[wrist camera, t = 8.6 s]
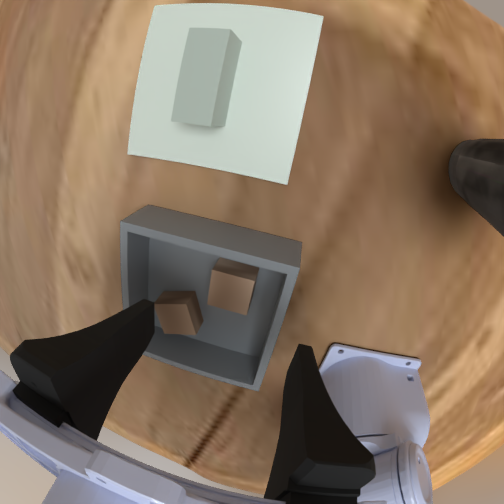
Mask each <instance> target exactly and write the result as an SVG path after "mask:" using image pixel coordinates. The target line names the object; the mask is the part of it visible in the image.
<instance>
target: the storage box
mask: <svg viewBox="0 0 504 504" xmlns="http://www.w3.org/2000/svg"><path fill="white" fill-rule="evenodd" d="M301 248H302V242H299V241H295V240H291V239H287V238H283V237H279V236H276V235H272V234H268V233H264V232H260V231H256V230H252V229H248V228H244V227H240V226H236V225H232V224H228V223H224V222H220V221H215V220H211V219H207V218H203V217H199V216H195V215H191V214H186V213H182V212H178V211H174V210H169V209H165V208H161V207H157V206H152V205H147V206H145V207H143V208H142V209H140V210H138V211H137V212H135V213H133V214H131V215H130V216H128V217H126V218H125V219H123V220H121V221H120V258H121V284H122V301H123V310H124V309H126V308H128V307H130V306H132V305H133V304H135V303H137V302H139V301H141V300H142V299H146V300H149V301H152V302H155V301H156V300H157V299H158V298H159V296H160V295H161V294H162V293H163V291H195V292H196V295H197V299H198V302H199V306H200V309H201V313H202V316H203V320H204V321H203V323H202V325H201V327H200V329H199V331H198V333H197V334H196V335H183V334H164V332H163V329H162V326H161V324H160V321H159V318H158V316H157V313H156V310H155V308H154V311H155V333H154V335H153V337H152V339H151V341H150V343H149V345H148V347H147V349H146V350H145V351H144V353H143V355H145V356H148V357H151V358H153V359H156V360H159V361H161V362H164V363H167V364H170V365H172V366H175V367H178V368H181V369H184V370H187V371H190V372H193V373H196V374H199V375H202V376H205V377H209V378H212V379H215V380H219V381H222V382H225V383H229V384H233V385H236V386H240V387H244V388H247V389H251V390H255V391H259V388H260V386H261V383H262V380H263V377H264V375H265V372H266V369H267V366H268V363H269V361H270V358H271V355H272V352H273V349H274V346H275V343H276V340H277V337H278V335H279V332H280V329H281V326H282V323H283V320H284V317H285V313H286V310H287V307H288V304H289V301H290V298H291V295H292V292H293V289H294V285H295V282H296V279H297V276H298V273H299V269H300V261H301ZM220 257H221V258H225V259H229V260H232V261H236V262H240V263H244V264H248V265H251V266H255V267H259V272H258V276H257V280H256V284H255V289H254V293H253V297H252V301H251V304H250V307H249V310H248V313H247V315H243V314H239V313H236V312H232V311H229V310H225V309H222V308H218V307H215V306H211V305H208V304H207V302H208V295H209V287H210V280H211V273H212V269H213V267H214V266H215V264H216V263H217V261H218V260H219V258H220Z"/></svg>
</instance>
